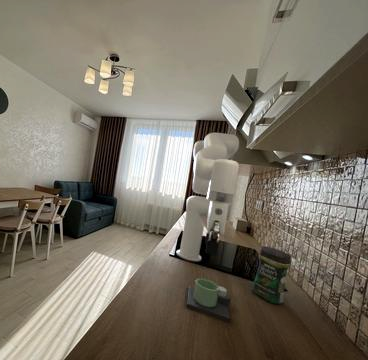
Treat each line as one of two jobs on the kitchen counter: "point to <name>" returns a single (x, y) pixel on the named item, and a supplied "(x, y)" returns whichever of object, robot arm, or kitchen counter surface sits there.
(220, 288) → the power button
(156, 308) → the kitchen counter surface
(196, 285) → the green cup
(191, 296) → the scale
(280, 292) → the coffee jar
